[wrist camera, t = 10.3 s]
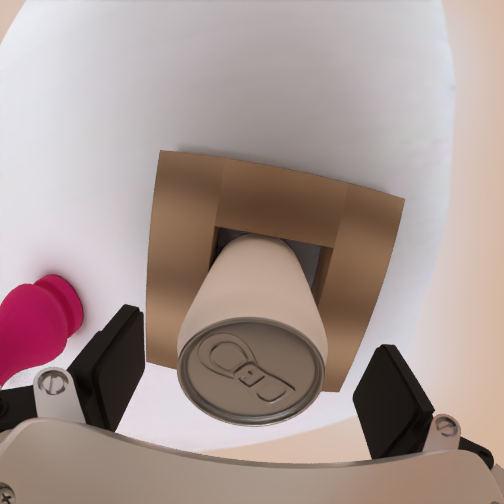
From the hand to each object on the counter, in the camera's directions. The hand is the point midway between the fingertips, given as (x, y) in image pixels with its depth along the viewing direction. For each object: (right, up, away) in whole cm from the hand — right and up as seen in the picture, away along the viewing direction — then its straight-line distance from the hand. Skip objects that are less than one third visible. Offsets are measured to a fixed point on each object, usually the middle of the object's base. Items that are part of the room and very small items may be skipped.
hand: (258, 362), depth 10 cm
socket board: (+1, +2, +11) cm, 11 cm away
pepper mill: (-19, -1, +13) cm, 23 cm away
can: (0, +3, +11) cm, 12 cm away
